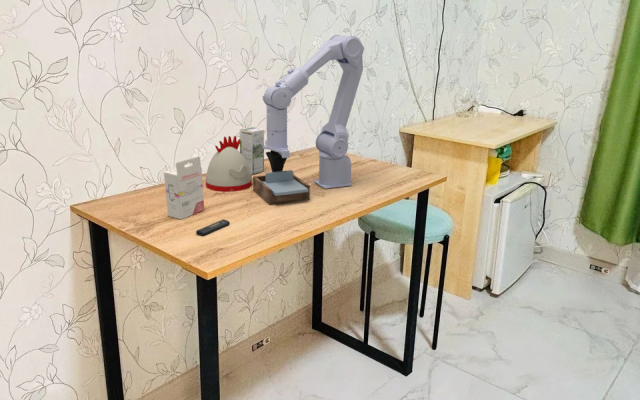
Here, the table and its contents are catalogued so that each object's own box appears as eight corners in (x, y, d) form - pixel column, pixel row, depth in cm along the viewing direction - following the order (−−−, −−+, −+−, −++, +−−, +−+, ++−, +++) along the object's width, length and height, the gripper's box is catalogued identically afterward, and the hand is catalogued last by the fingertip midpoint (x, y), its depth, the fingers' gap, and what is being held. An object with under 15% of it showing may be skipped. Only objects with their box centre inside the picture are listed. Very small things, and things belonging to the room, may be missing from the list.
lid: (262, 184, 149) (261, 172, 147) (293, 181, 152) (293, 169, 151) (275, 195, 139) (275, 183, 138) (308, 191, 143) (308, 179, 142)
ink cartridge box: (191, 206, 139) (187, 153, 134) (204, 210, 136) (201, 155, 131) (166, 216, 132) (162, 159, 127) (180, 220, 129) (176, 163, 125)
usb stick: (202, 238, 120) (202, 232, 119) (194, 235, 121) (194, 229, 121) (231, 226, 127) (230, 220, 127) (223, 223, 129) (222, 218, 128)
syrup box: (251, 168, 176) (250, 126, 171) (264, 171, 172) (264, 128, 168) (239, 172, 171) (238, 128, 167) (253, 175, 168) (252, 131, 163)
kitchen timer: (260, 186, 157) (259, 137, 152) (220, 194, 149) (218, 143, 144) (237, 176, 167) (235, 130, 162) (197, 183, 159) (195, 134, 154)
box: (253, 190, 153) (252, 176, 152) (290, 185, 158) (290, 172, 157) (269, 204, 141) (269, 190, 140) (309, 199, 146) (309, 185, 145)
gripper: (255, 126, 151) (256, 171, 155) (272, 136, 138) (272, 184, 143) (278, 124, 153) (278, 169, 158) (296, 134, 141) (296, 182, 145)
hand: (277, 176), depth 150 cm, fingers closed
